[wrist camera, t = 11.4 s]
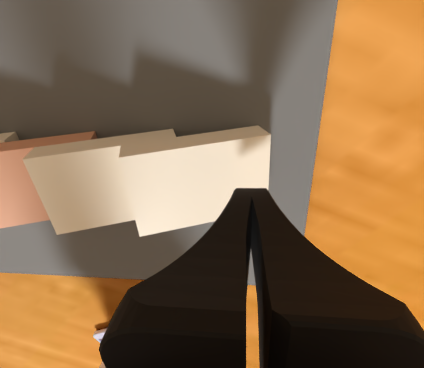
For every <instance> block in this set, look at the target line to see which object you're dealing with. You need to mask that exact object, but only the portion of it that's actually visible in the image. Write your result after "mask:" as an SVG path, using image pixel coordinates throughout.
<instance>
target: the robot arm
mask: <svg viewBox="0 0 424 368" xmlns="http://www.w3.org/2000/svg"><path fill="white" fill-rule="evenodd" d="M250 252H252V260H253V268H254V276H255V284H256V292H257V302H258V327H259V360H260V368H424V330H423V329H422V327H421V326H420V324H419V323H418V321H417V320H416V318H415V317H414V316H413V314H412V313H411V312H410V310H409V309H408V307H407V306H406V304H404V303H403V302H401V301H399V300H397V299H395V298H394V297H392V296H390V295H388V294H386V293H384V292H383V291H381V290H379V289H377V288H375V287H373V286H372V285H370V284H368V283H366V282H365V281H363V280H362V279H360V278H358V277H357V276H355V275H354V274H352V273H351V272H349V271H347V270H346V269H344V268H343V267H342V266H340V265H339V264H337V263H336V262H334V261H333V260H332V259H331V258H329V257H328V256H327V255H325V254H324V253H323V252H321V251H320V250H319V249H318V248H316V247H315V246H314V245H313V244H312V243H311V242H310V241H309V240H307V239H306V238H305V237H304V236H303V235H302V234H301V233H300V232H299V231H298V229H297V228H296V227H295V226H294V225H293V224H292V223H291V222H290V221H289V219H288V218H287V217H286V216H285V214H284V213H283V212H282V211H281V209H280V208H279V207H278V205H277V204H276V202H275V201H274V199H273V198H272V196H271V194H270V193H269V191H268V190H267V189H266V188H236V189H235V190H234V191H233V194H232V196H231V198H230V200H229V202H228V203H227V205H226V207H225V208H224V210H223V211H222V213H221V214H220V216H219V217H218V218H217V220H216V221H215V222H214V223H213V225H212V226H211V227H210V228H209V229H208V231H207V232H206V233H205V234H204V235H203V236H202V237H201V238H200V239H199V240H198V241H197V242H196V243H195V244H194V245H193V246H192V247H191V248H190V249H188V250H187V251H186V252H185V253H184V254H183V255H181V256H180V257H179V258H178V259H176V260H175V261H173V262H172V263H171V264H169V265H168V266H167V267H165V268H164V269H162V270H161V271H159V272H157V273H156V274H154V275H153V276H151V277H149V278H147V279H146V280H144V281H142V282H140V283H139V284H137V285H135V286H133V287H131V288H130V289H128V291H127V293H126V294H125V296H124V298H123V299H122V301H121V302H120V304H119V306H118V307H117V309H116V311H115V313H114V315H113V317H112V319H111V321H110V323H109V325H108V327H107V328H105V329H102V330H98V331H95V333H94V335H93V337H94V338H95V339H96V340H97V341H99V342H100V347H99V351H100V355H101V358H102V363H101V365H100V367H99V368H246V296H247V284H248V274H249V263H250Z"/></svg>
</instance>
